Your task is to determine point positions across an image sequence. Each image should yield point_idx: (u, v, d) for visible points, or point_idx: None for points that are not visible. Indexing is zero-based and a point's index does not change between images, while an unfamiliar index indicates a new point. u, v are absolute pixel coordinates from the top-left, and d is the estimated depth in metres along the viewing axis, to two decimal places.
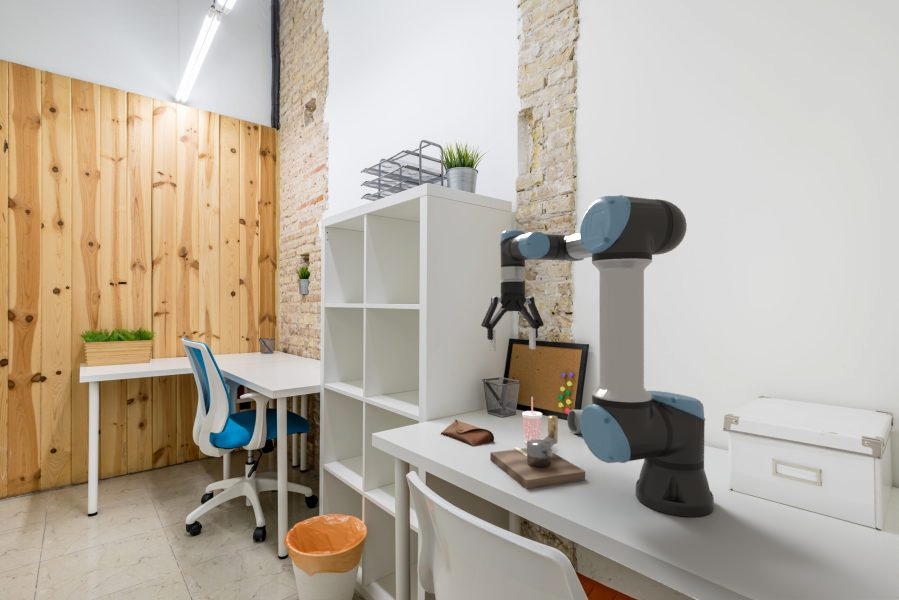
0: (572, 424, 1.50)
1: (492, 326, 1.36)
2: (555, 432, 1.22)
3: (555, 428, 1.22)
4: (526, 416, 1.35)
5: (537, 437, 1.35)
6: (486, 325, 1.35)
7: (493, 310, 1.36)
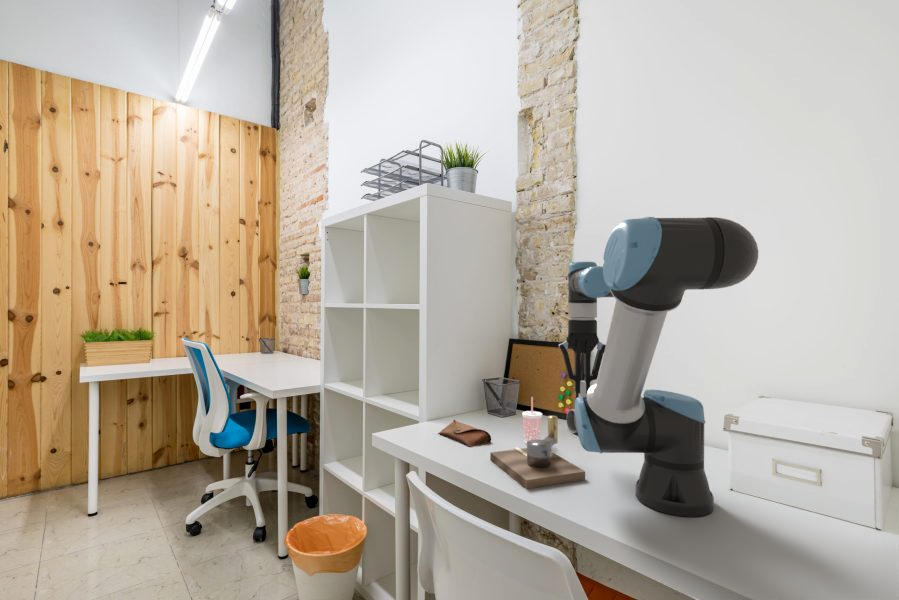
0: (571, 423, 1.51)
1: (578, 378, 1.22)
2: (555, 432, 1.22)
3: (555, 428, 1.22)
4: (526, 416, 1.35)
5: (537, 437, 1.35)
6: (571, 377, 1.22)
7: (567, 359, 1.22)
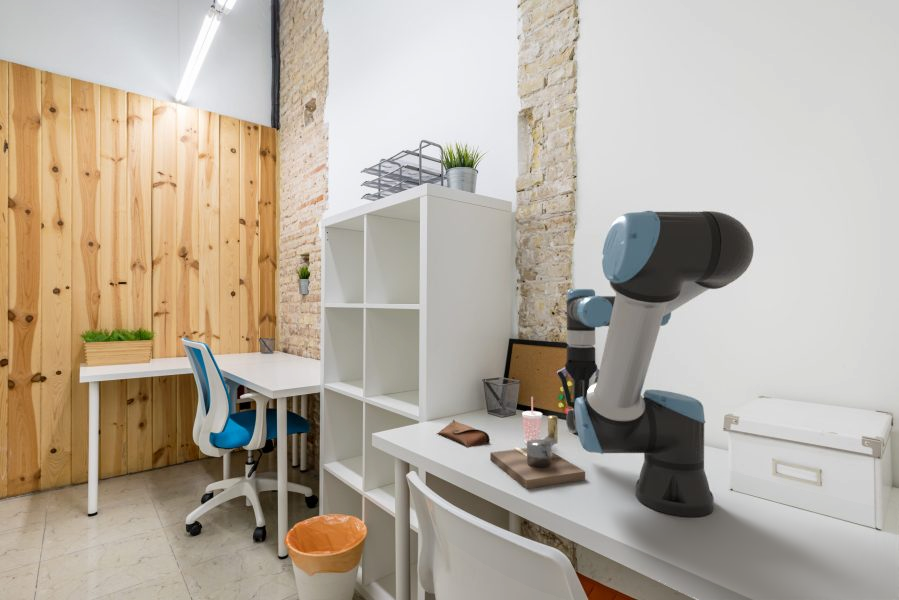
0: (571, 423, 1.51)
1: None
2: (555, 432, 1.22)
3: (555, 428, 1.22)
4: (526, 416, 1.35)
5: (537, 437, 1.35)
6: (570, 404, 1.22)
7: (565, 386, 1.22)
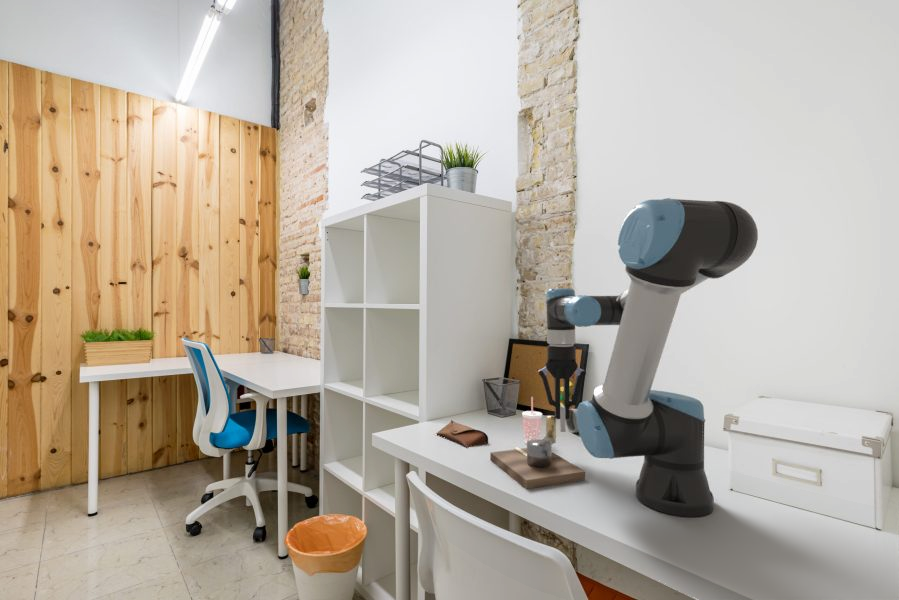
0: (571, 423, 1.51)
1: (558, 404, 1.23)
2: (553, 432, 1.23)
3: (553, 428, 1.23)
4: (526, 416, 1.35)
5: (537, 437, 1.35)
6: (551, 403, 1.23)
7: (547, 385, 1.23)
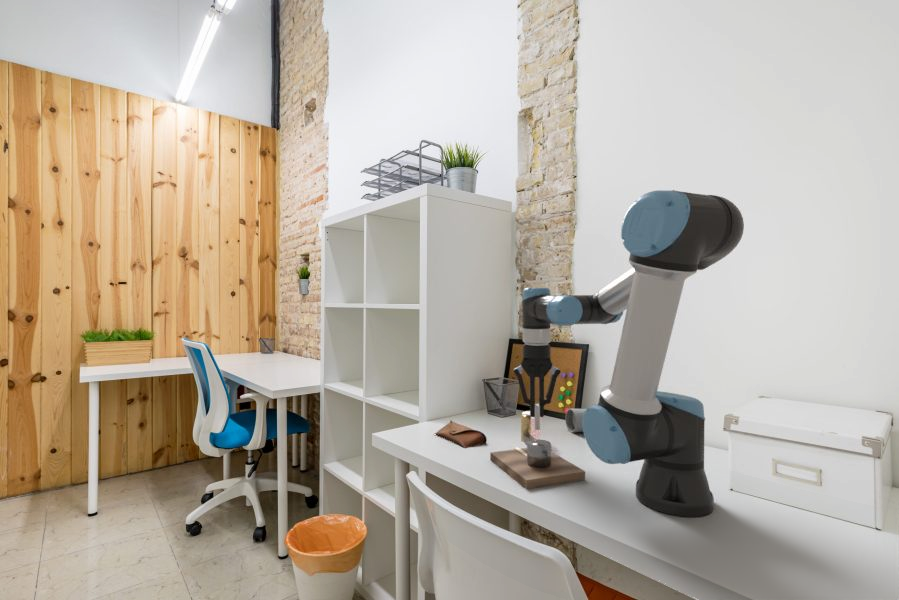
0: (570, 423, 1.52)
1: (532, 402, 1.24)
2: (530, 430, 1.24)
3: (530, 426, 1.24)
4: None
5: (537, 437, 1.35)
6: (526, 401, 1.24)
7: (521, 383, 1.24)
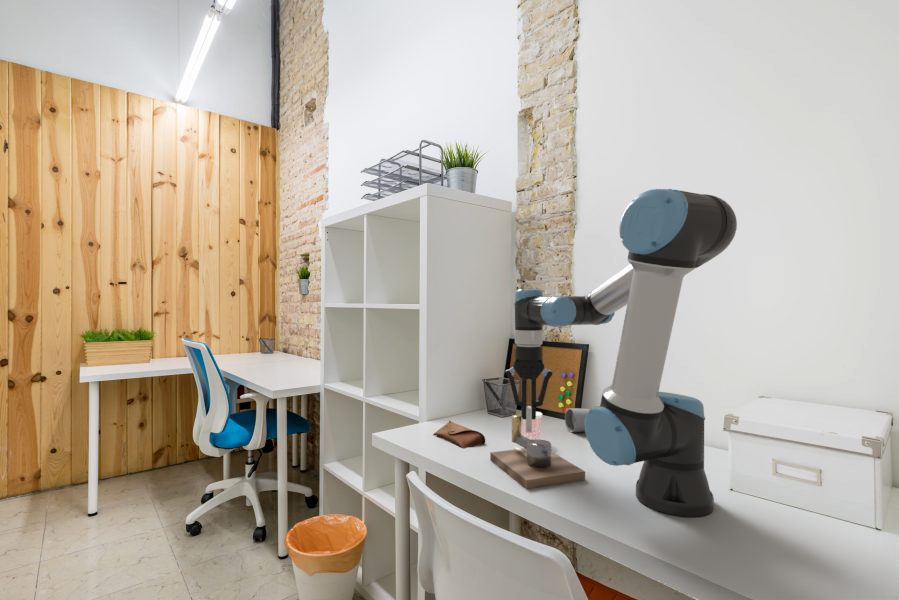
0: (570, 422, 1.52)
1: (524, 404, 1.23)
2: None
3: None
4: None
5: (537, 437, 1.35)
6: (517, 403, 1.23)
7: (513, 385, 1.23)
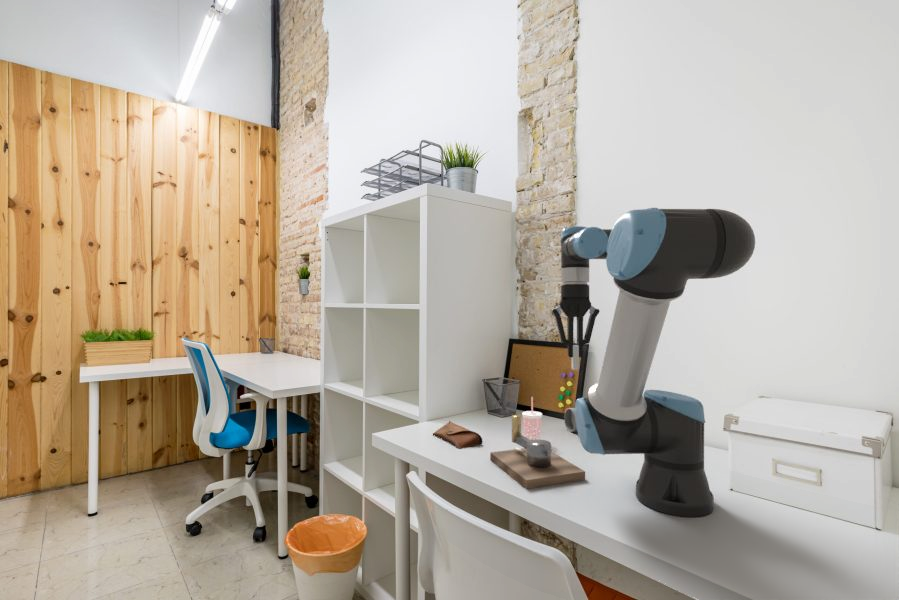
0: (569, 422, 1.53)
1: (571, 342, 1.24)
2: None
3: None
4: (526, 416, 1.35)
5: (537, 437, 1.35)
6: (564, 341, 1.24)
7: (560, 323, 1.24)
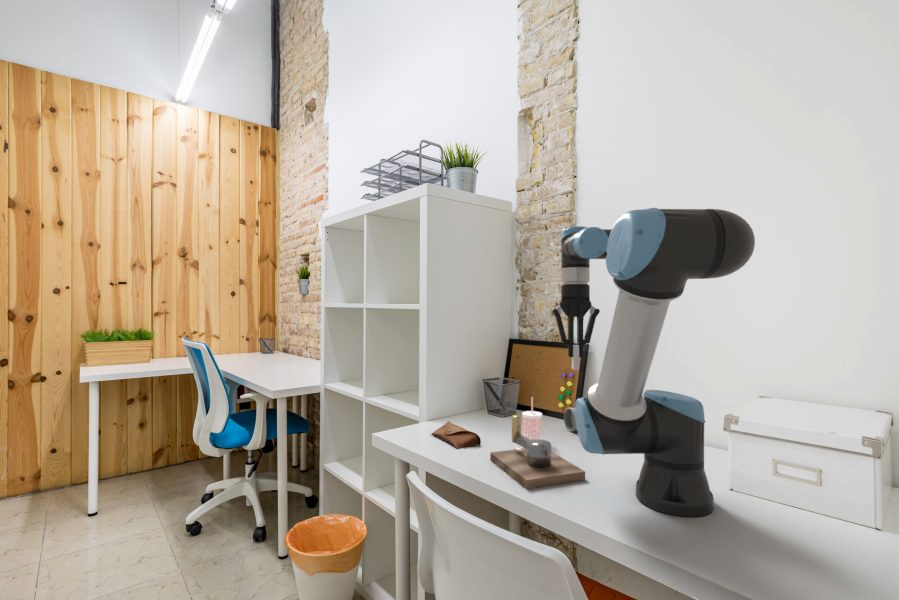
0: (569, 422, 1.53)
1: (571, 342, 1.24)
2: None
3: None
4: (526, 416, 1.35)
5: (537, 437, 1.35)
6: (564, 341, 1.24)
7: (560, 323, 1.24)
